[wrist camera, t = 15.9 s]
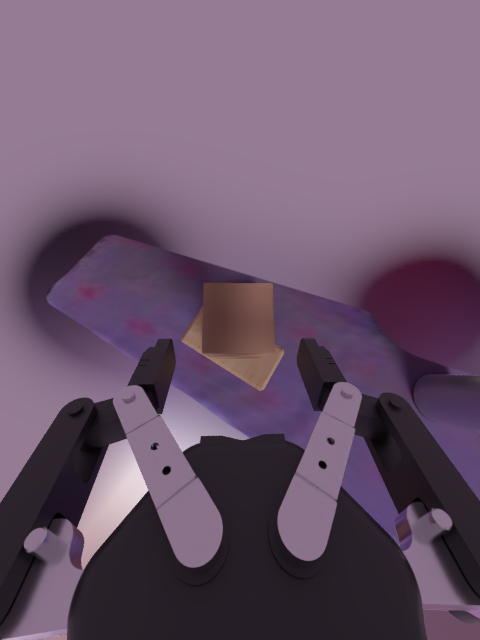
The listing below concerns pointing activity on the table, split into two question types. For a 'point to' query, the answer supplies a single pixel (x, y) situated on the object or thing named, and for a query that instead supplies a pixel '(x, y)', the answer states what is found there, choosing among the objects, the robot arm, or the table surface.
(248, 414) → the table surface
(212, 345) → the tan long block
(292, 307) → the table surface
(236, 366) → the decorative block
